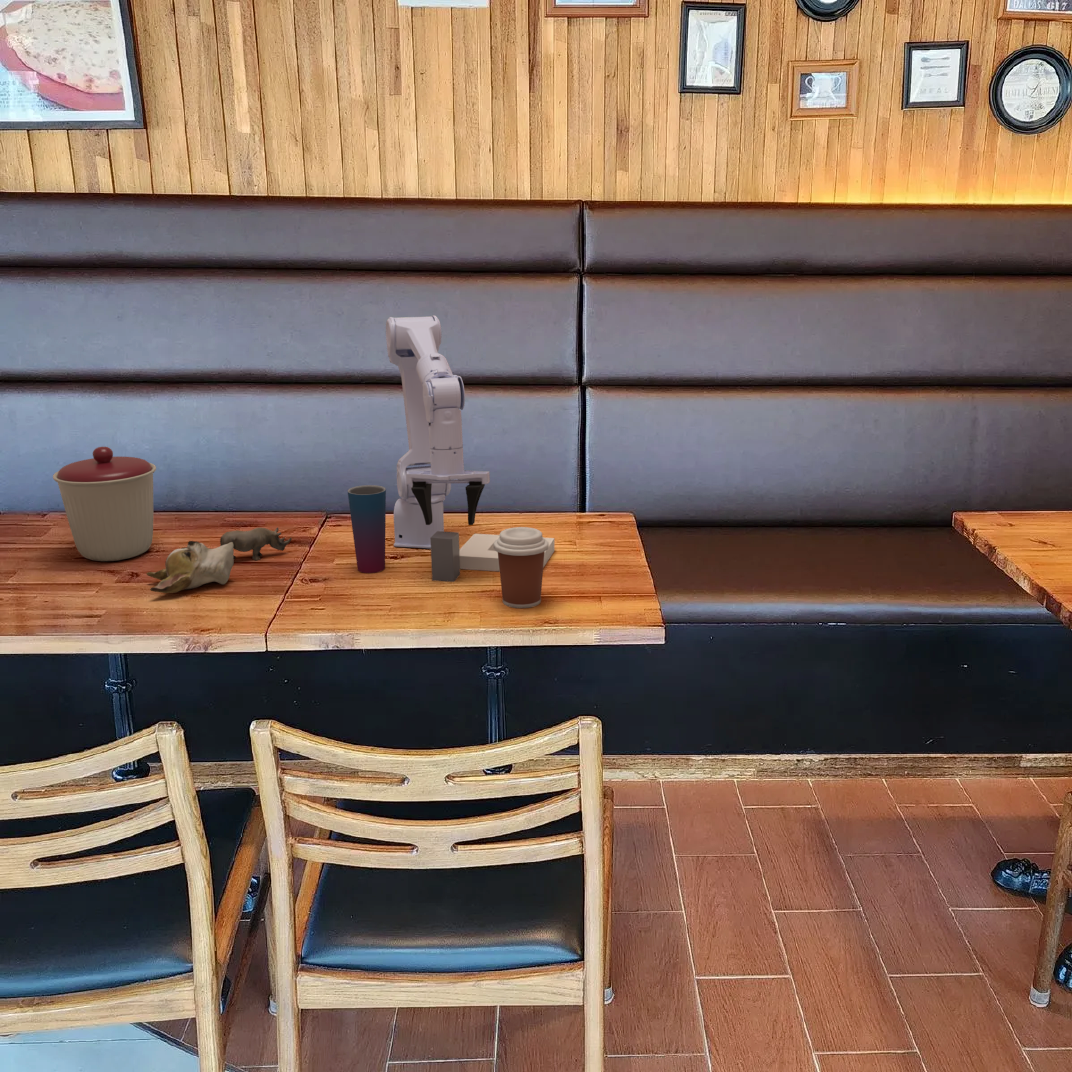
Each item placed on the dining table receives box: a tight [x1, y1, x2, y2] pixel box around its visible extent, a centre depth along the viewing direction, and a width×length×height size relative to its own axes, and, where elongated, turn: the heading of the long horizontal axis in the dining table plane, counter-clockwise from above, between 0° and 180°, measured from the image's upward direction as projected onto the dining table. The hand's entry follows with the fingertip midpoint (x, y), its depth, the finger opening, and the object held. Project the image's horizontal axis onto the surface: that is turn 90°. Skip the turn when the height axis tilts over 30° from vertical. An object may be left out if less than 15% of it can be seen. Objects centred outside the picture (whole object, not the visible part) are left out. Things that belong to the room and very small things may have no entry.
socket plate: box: [459, 533, 555, 572], centre depth 190 cm, size 16×14×2 cm
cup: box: [347, 484, 387, 574], centre depth 183 cm, size 7×7×15 cm
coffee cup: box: [493, 526, 549, 609], centre depth 167 cm, size 9×9×12 cm
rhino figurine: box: [219, 527, 293, 561], centre depth 191 cm, size 4×14×6 cm, turn 114°
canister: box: [52, 446, 157, 562], centre depth 192 cm, size 18×18×21 cm
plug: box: [430, 531, 461, 583], centre depth 179 cm, size 4×4×8 cm
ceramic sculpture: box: [146, 540, 235, 594], centre depth 176 cm, size 11×9×15 cm
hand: (450, 523), depth 178 cm, fingers open, 7 cm apart
